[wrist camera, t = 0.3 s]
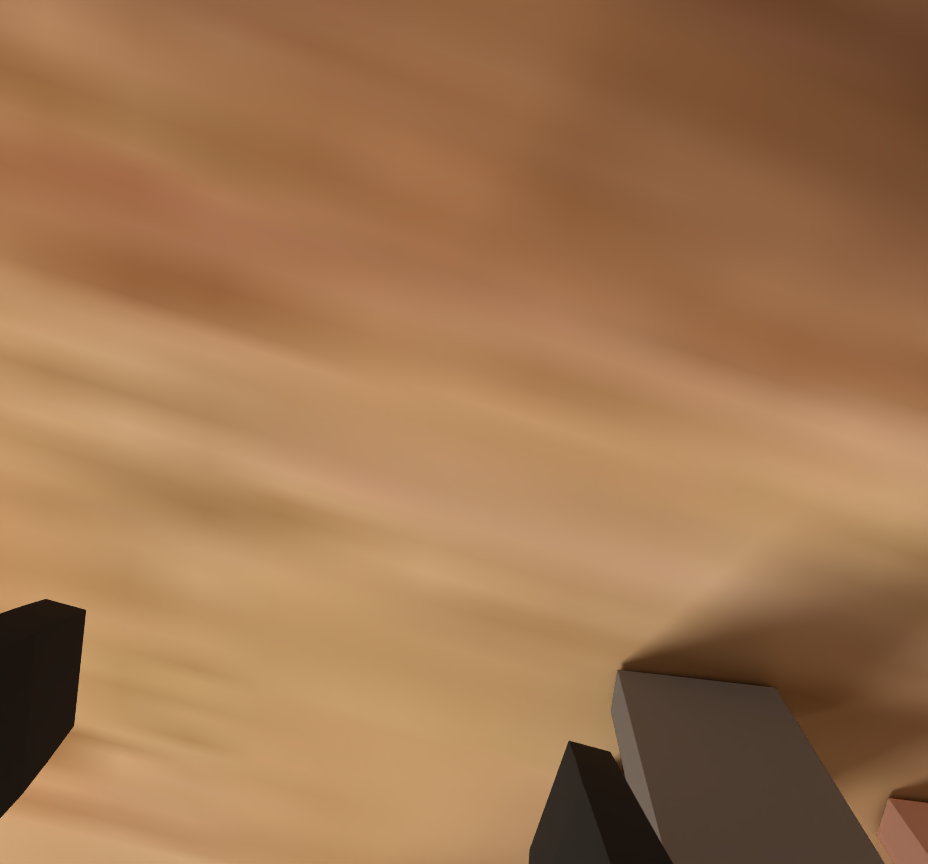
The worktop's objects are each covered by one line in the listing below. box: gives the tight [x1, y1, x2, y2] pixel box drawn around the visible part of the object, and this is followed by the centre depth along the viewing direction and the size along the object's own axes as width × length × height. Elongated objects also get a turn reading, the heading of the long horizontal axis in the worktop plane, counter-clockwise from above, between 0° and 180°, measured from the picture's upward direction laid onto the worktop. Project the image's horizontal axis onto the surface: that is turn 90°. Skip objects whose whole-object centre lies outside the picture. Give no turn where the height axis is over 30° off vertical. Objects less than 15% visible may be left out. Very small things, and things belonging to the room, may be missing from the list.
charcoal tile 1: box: [611, 670, 884, 864], centre depth 16 cm, size 2×5×7 cm, turn 86°
